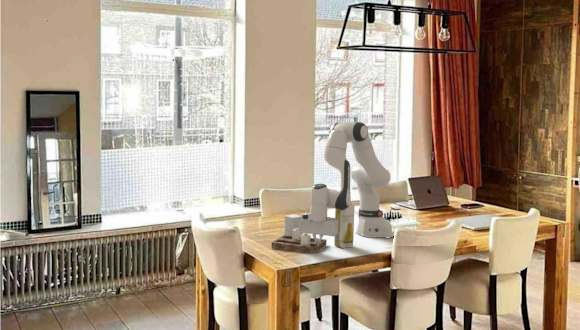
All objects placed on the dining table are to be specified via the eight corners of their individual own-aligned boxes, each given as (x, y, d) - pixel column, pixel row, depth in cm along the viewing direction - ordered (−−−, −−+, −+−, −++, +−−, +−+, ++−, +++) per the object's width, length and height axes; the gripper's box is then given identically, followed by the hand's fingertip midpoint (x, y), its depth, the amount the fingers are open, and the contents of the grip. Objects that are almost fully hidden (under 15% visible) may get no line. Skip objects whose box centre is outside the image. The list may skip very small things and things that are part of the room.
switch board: (326, 245, 341) (326, 239, 341) (315, 253, 325) (315, 247, 324) (284, 240, 350) (284, 234, 349) (271, 248, 333) (271, 242, 333)
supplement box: (302, 238, 354) (303, 216, 352) (292, 240, 349) (292, 217, 347) (294, 236, 359) (294, 213, 358) (284, 237, 355) (284, 215, 353)
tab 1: (301, 241, 343) (302, 228, 342) (299, 242, 340) (299, 229, 339) (294, 240, 345) (294, 227, 344) (292, 241, 341) (292, 228, 340)
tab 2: (310, 246, 332) (310, 233, 331) (307, 248, 329) (308, 234, 328) (302, 246, 333) (303, 232, 332) (300, 247, 330) (300, 234, 329)
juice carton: (341, 249, 334) (343, 203, 331) (332, 245, 340) (333, 201, 337) (355, 246, 339) (356, 202, 336) (345, 243, 346) (346, 199, 342)
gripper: (340, 217, 325) (339, 243, 327) (302, 213, 332) (301, 239, 334) (336, 219, 319) (335, 246, 321) (297, 215, 327) (297, 241, 328)
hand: (317, 242), depth 328 cm, fingers closed
